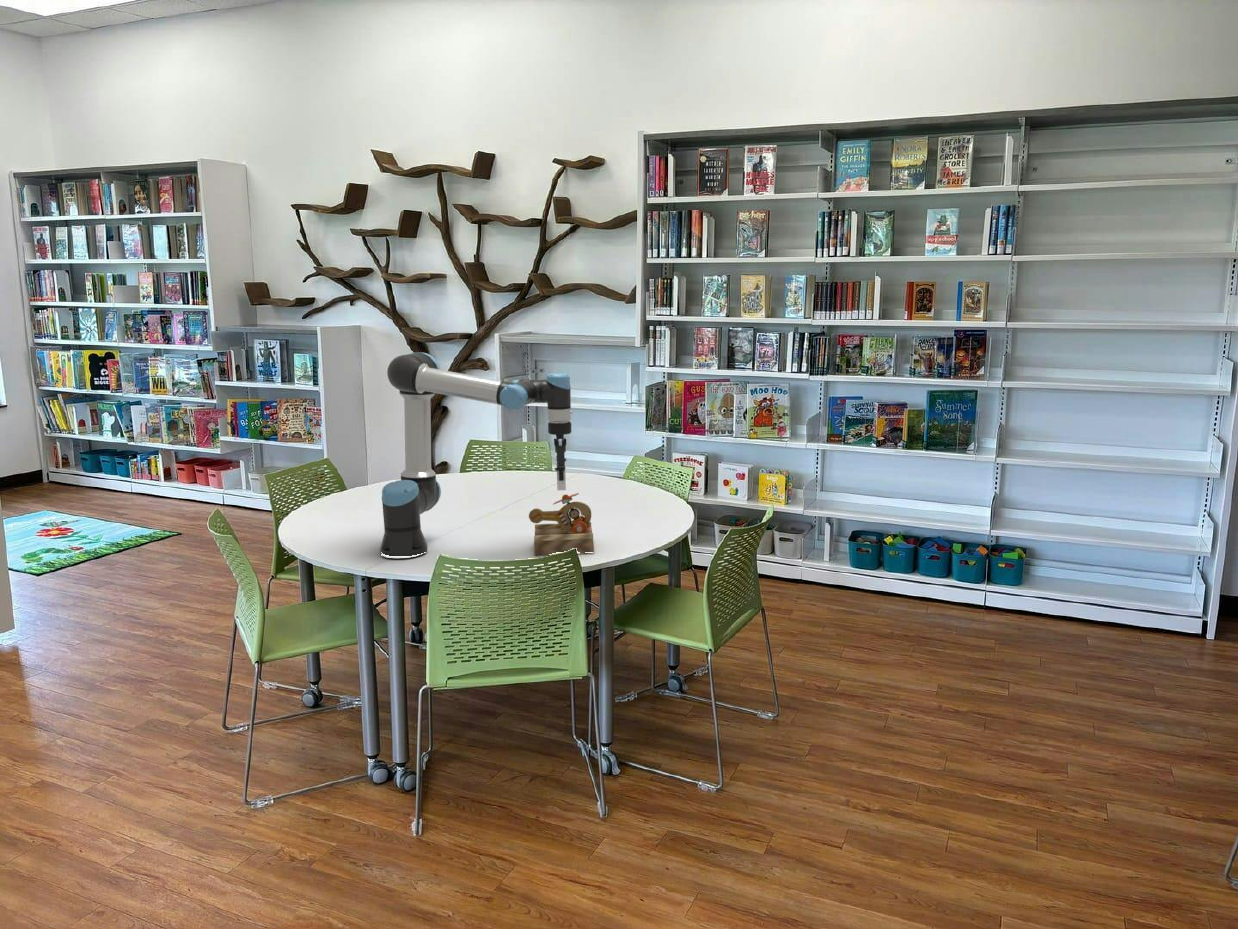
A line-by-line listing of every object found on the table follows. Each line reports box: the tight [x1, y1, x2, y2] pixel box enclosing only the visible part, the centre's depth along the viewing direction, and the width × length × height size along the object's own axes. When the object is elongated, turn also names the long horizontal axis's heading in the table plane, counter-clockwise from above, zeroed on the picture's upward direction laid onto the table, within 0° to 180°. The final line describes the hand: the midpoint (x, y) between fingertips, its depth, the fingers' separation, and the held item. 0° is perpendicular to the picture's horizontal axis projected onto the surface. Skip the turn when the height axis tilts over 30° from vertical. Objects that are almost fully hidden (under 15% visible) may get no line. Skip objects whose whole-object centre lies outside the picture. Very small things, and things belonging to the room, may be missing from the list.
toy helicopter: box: [528, 492, 592, 534], centre depth 309 cm, size 8×21×14 cm, turn 84°
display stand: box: [533, 521, 595, 557], centre depth 310 cm, size 19×16×6 cm
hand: (561, 485), depth 307 cm, fingers open, 13 cm apart
